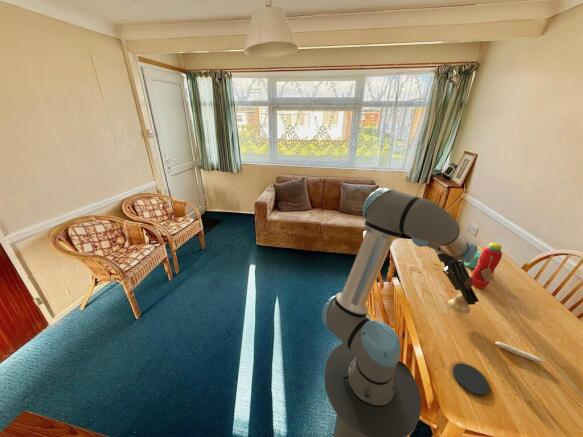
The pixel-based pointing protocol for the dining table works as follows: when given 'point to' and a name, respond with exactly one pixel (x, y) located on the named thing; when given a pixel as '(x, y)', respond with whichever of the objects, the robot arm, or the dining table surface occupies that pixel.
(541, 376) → the dining table surface
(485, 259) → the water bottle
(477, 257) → the decorative dice
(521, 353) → the pen
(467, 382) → the corner coaster
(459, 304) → the hand bell
